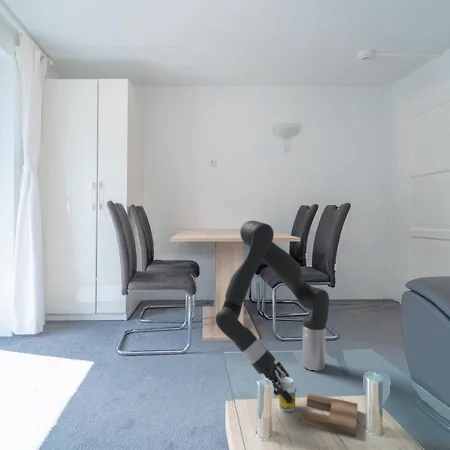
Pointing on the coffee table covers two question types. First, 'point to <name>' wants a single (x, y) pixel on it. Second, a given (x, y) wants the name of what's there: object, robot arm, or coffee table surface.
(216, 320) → the robot arm
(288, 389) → the supplement bottle
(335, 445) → the coffee table surface
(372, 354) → the coffee table surface
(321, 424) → the notched board
